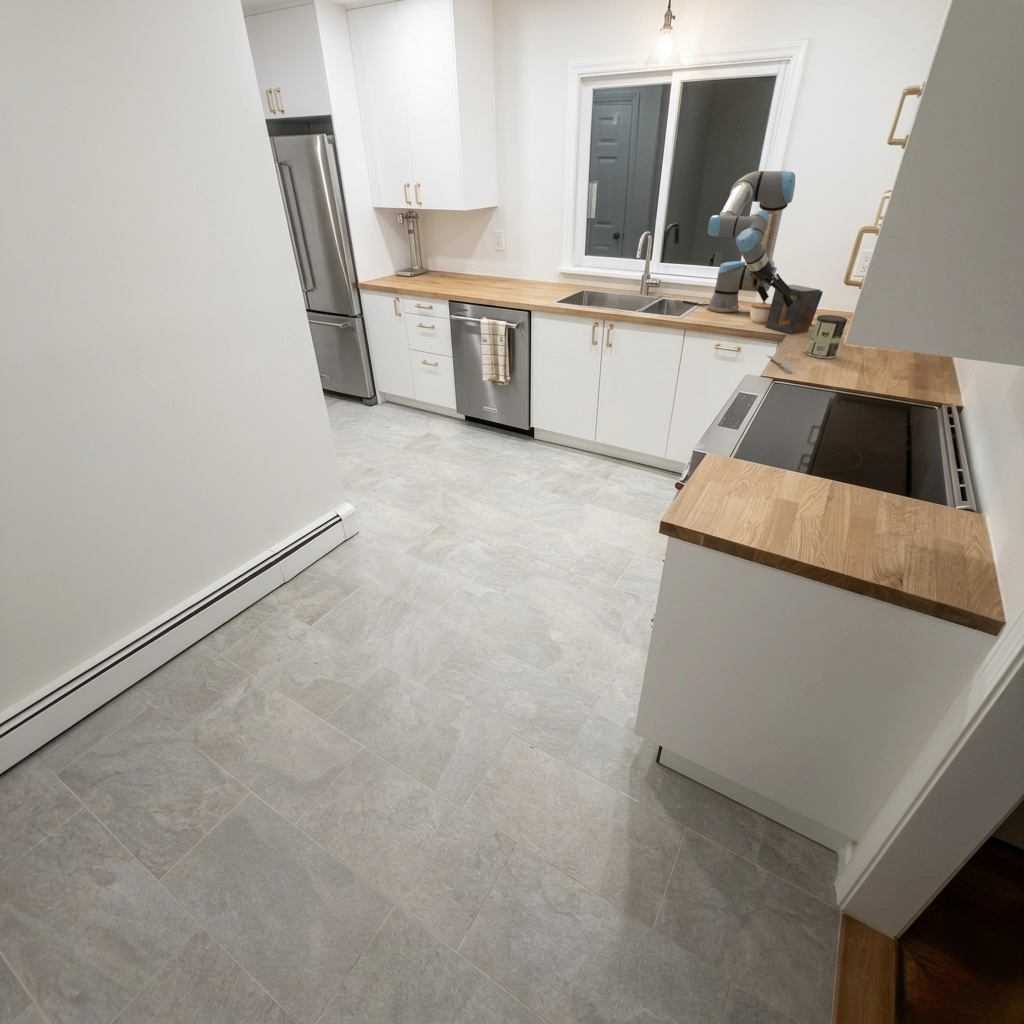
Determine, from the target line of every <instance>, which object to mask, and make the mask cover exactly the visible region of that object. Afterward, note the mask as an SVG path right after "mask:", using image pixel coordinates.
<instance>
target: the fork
mask: <svg viewBox="0 0 1024 1024" xmlns="http://www.w3.org/2000/svg"><path fill="white" fill-rule="evenodd" d="M765 357H766V358H768V359H770V360H772V361H774V362H775V363H777V364H778V365H782V366H783V367H784V370H785V371H786V373H789V374H792V373H793V370H792V367H791V364H790V363H789V362H780V361H779V360H778V359H777V358H775V356H773V355H765Z"/></svg>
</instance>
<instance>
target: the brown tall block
mask: <svg viewBox="0 0 1024 1024" xmlns="http://www.w3.org/2000/svg"><path fill="white" fill-rule="evenodd" d="M823 293H824V291H823V290H820V293H819V296H818V299H817V303H816V306H815V309H814V313H813V316H812V319H811V323H810V326H811V325H812V323H813V321H814V317H815V315H816V312H817V309H818V307H819V304H820V301H821V299H822V295H823Z"/></svg>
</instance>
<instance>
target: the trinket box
mask: <svg viewBox="0 0 1024 1024" xmlns="http://www.w3.org/2000/svg"><path fill="white" fill-rule="evenodd" d="M766 301H767V300H765V301H763V300H762V302H752V303H751V304H750V309H749V315H750V319H751V320H752V322H754V323H758V324H766V323H767V319H768V315H769V311H770V307H771V303H768V302H766Z"/></svg>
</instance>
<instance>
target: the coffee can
mask: <svg viewBox="0 0 1024 1024" xmlns="http://www.w3.org/2000/svg"><path fill="white" fill-rule="evenodd" d="M847 322H848V318H846V317H844V316H839V315H832V314H820V315H817V316H816V321H815V324H814V326H813V327H814V328H813V330H812V335H811V337H810V341H809V344H808V348H807V351H806V354H807V356H810V357H813V358H818V359H828V360H829V359H834V358H836V355H837V352H838V349H839V346H840V343H841V340H842V337H843V334H844V331H845V327H846V324H847Z"/></svg>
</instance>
